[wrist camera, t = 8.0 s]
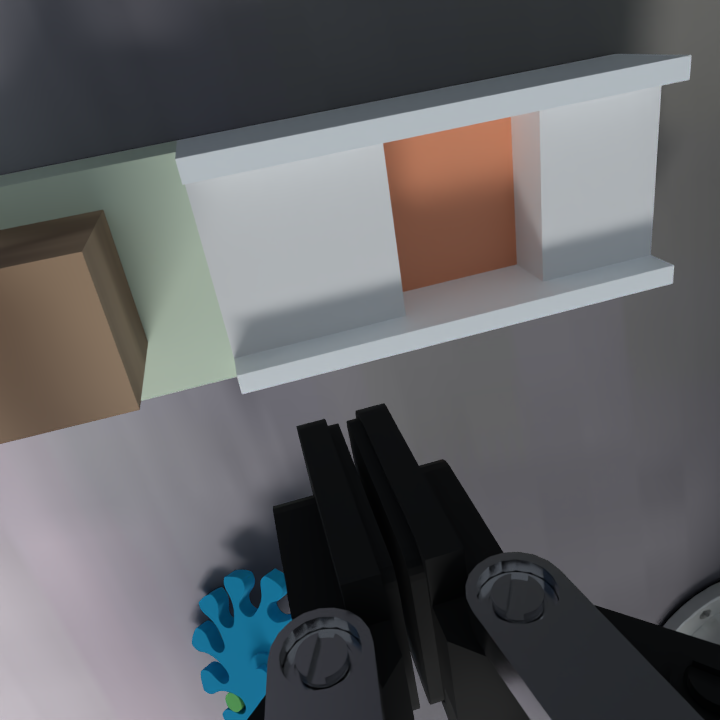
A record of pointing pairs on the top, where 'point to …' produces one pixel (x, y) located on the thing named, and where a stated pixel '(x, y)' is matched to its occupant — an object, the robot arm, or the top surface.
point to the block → (66, 327)
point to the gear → (240, 639)
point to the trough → (377, 221)
